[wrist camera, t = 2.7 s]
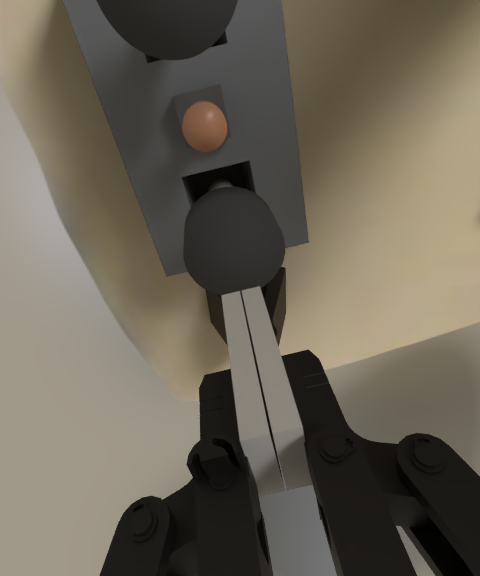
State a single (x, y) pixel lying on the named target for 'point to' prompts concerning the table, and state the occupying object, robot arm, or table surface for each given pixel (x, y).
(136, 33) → the knob
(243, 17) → the mount
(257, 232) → the knob
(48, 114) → the table surface
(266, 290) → the phone stand
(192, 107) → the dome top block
